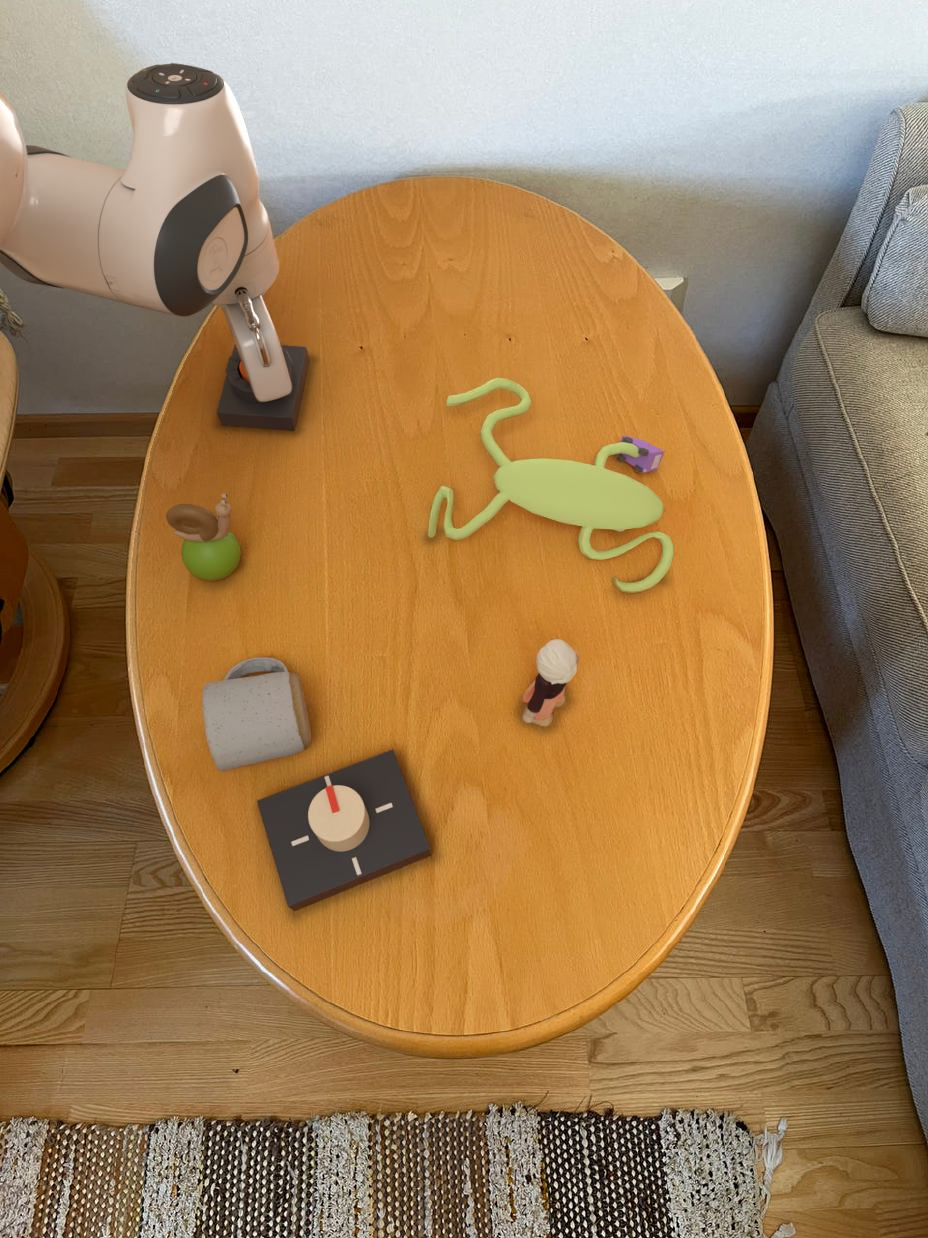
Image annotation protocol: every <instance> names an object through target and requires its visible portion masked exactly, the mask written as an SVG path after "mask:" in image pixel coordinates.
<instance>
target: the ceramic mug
mask: <svg viewBox="0 0 928 1238" xmlns="http://www.w3.org/2000/svg"><path fill="white" fill-rule="evenodd" d="M265 672H268V673H265ZM254 673H263V674H260V675H252V676H246V675H249V674H254ZM244 676H245V677H244ZM201 705H202V716H203V724H204V730H205V738H206V742H207V746H208V748H209V752H210V755H211V759H212V761H213V763H214V765H215V767H216V768H217V770H218V771H220V772H226V771H230V770H234V769H235V770H236V769H240V768H243V767H246V766H251V765H255V764H260V763H265V762H269V761H272V760H275V759H282V758H287V757H291V756H294V755H297V754H299V753H301V752H304V751H307V749H309V747H310V746H311V744H312V733H311V725H310V719H309V714H308V713H309V712H308V708H307V701H306V697H305V692H304V688H303V684H302V681H301V678H300V676H299V675H298V674H297V673H295V672H290V671H289V670H288V667H287V666H286V664H285V663H283V661H281V660H279V659H277V658H273V657H269V656H268V657H266V656H265V657H264V656H259V657H252V658H248V659H244V660H243V661H240V662H238V663H237V664H235V665H233V666H232V667H231V668H230V669H229V670H228V672H227V673H226V674H225V676H224V677H223V680H216V681H209V682H207V683H204V685H203V688H202V695H201Z"/></svg>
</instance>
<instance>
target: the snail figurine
mask: <svg viewBox="0 0 928 1238" xmlns="http://www.w3.org/2000/svg"><path fill="white" fill-rule="evenodd" d="M220 498H221V499H220V501H219V502H217V504H215V506H214V512H215V514H216V515H217V517H216V515H215V514H214V513H213V512H212V511H210V510H209V509H207V508H205V507H203V506H200V505H197V504H191V503H178V504H175V505H173V506H171V507H169V509H168V510H167V511H166V515H165V519H166V521H167V523H168V525H169V526H170V527H171V528H173V529H174V530H173V534H174V535H175V536H176V537H178V538H180V539H183V541H182V544H181V550H180V552H181V553H180V554H181V559H182V562H183V564H184V566H185V568H186V570H187V571H188V572H189V573H190V574H192V576H194V577H196V578H198V579H200V580H203V581H208V582H214V581H220V580H224V579H226V578H227V577H229V576H231V574H233V572H235V570H236V569H237V567H238V566H239V564H240V560H241V554H242V553H241V545H240V542H239V541H238V538H237V537H236V535H234V533H233V532H232V531H231V527H232V515H231V514H232V506H231V505H230V504H229V503H228V500H227V499H228V494H227V493H225V492H223V493H221V495H220Z"/></svg>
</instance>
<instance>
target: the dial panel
mask: <svg viewBox="0 0 928 1238" xmlns="http://www.w3.org/2000/svg"><path fill="white" fill-rule="evenodd" d="M331 785H332V786H335V785H342V786H346V787H349V788H351V789H353V790H354V791H356V792H357V793H358V794H359V796H360V797H361V799H362V800H363V803H364V805H365V808H366V810H367V813H368V816H369V830H368V833H367V835H366V837H365V839H364V840H363V841H362V842H361V843H360V844H359V845H358V846H357V847H355V848H353V849H351V850H348V851H342V852H339V851H334V850H331V849H329V848H327V847H325V846H324V845H323V844H322V843H321V841H320V840H319V839H318V837H317V836H316V834H315V833H314V832H313V830H312V829H311V827H310V824H309V820H308V811H309V807H310V804H311V802H312V800H313V799H314V797H315V796H316V795H317V794H318V793H319V792H320V791H322V790H323V789H325V787H328V786H331ZM256 803H257V806H258V810H259V815H260V816H261V820H262V823H263V826H264V831H265V835H266V837H267V841H268V843H269V848H270V851H271V854H272V858H273V860H274V861H273V862H274V864H275V868H276V871H277V874H278V877H279V881H280V885H281V888H282V891H283V895H284V898H285V901H286V905H287V907H288V908H289V909H291V910H292V911H293V912H297V911H298V910H302V909H303V908H306V907H309V906H311V905H314V904H316V903H318V902H321V901H324V900H326V899H328V898H330V897H333V896H336V895H338V894H341V893H343V892H347V891H349V890H351V889H354V888H356V887H358V886H361V885H363V884H366V883H368V882H370V881H373V880H375V879H378V878H380V877H383V876H385V875H387V874H389V873H392V872H395V871H398V870H400V869H403V868H404V867H407V866H409V865H412V864H414V863H417V862H419V861H423V860H425V859H427V858H429V857H431V856H432V849H431V846H430V843H429V840H428V838H427V835H426V832H425V830H424V826H423V825H422V822H421V819H420V816H419V814H418V811H417V808H416V806H415V803H414V801H413V798H412V796H411V793H410V790H409V787H408V785H407V782H406V780H405V777H404V774H403V771H402V768H401V766H400V764H399V761H398V759H397V756H396V754H395V751H394V749H390V750H387V751H384V752H382V753H380V754H377V755H373V756H372V757H369V758H365V759H364V760H360V761H357V762H356V763H353V764H351V765H348V766H344V767H342V768H340V769H337V770H334V771H332V772H330V773H327V774H324V775H321V776H319V777H316V778H314V779H311V780H308V781H305V782H303V783H299V784H298V785H295V786H293V787H291V788H287V789H284V790H282V791H279V792H277V793H275V794H274V793H273V794H272V795H268V796H265V797H264V798H261V799H259V800H257V801H256Z"/></svg>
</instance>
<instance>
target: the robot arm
mask: <svg viewBox="0 0 928 1238" xmlns="http://www.w3.org/2000/svg"><path fill="white" fill-rule="evenodd" d="M125 99H126V105H127V111H128V115H129V120H130V124H131V128H132V132H133V142H132V147H131V153H130V157H129V160H128V162H127V163H128V164H127V166H126V169H123V168H120V167H116V166H111V165H106V164H102V163H98V162H93V161H91V160H90V161H89V160H86V159H85V160H84V159H80V158H76V157H72V156H71V155H68V154H64V153H62V152H59V151H55V150H52V149H48V148H45V147H42V146H38V145H31V144H26V141H25V137H24V133H23V130H22V126H21V125H20V121H19V119H18V116H17V113H16V111H15V109H14V107H13V105H12V103H11V101H10V100H9V98H8V97H7V95H6V94H5V93H4V92H3V91H2V89H1V88H0V264H2V266H4V267H5V268H6V269H7V270H8V271H9V272H11V274H13V275H15V276H16V277H18V279H21V280H22V281H25V282H27V283H30V284H35V285H39V286H40V285H41V286H47V287H51V288H59V289H67V290H70V291H75V292H77V293H82V294H86V295H90V296H95V297H98V298H102V299H106V300H110V301H114V302H118V303H122V304H125V305H131V306H134V307H139V308H142V309H146V310H150V311H155V312H159V313H163V314H168V315H174V316H178V317H190V316H193V315H195V314H197V313H199V312H201V311H202V310H204V309H205V308H207V307H208V306H209V305H210V304H212V305H213V306H216V307H219V308H221V309H222V313H223V315H224V318H225V321H226V324H227V326H228V328H229V331H230V334H231V337H232V339H233V342H234V345H236V347H237V350H238V353H239V355H240V358H241V361H242V363H243V366H244V369H245V372H246V374H247V377H248V380H249V382H250V385H251V388H252V390H253V393H254V395H255V397H256V399H257V400H258V401H259V402H267V401H271V400H275V399H278V398H281V397H284V396H286V395H288V394H290V393H291V391H292V384H291V380H290V376H289V372H288V369H287V365H286V361H285V358H284V355H283V351H282V348H281V345H282V344H281V341H280V338H279V335H278V332H277V330H276V326H275V324H274V322H273V320H272V317H271V314H270V312H269V309H268V307H267V305H266V302H265V300H264V296H265V294H267V292H268V291H269V289H270V288H271V287H272V286H273V284H274V283H275V281H276V279H277V277H278V276H279V271H280V261H279V257H278V251H277V248H276V244H275V240H274V235H273V230H272V226H271V222H270V217H269V215H268V212H267V210H266V208H265V206H264V204H263V202H262V200H261V198H260V195H259V187H260V177H259V171H258V166H257V162H256V158H255V154H254V150H253V146H252V143H251V138H250V136H249V135H250V134H249V132H248V129H247V125H246V123H245V120H244V117H243V114H242V112H241V108H240V107H239V104H238V101H237V99H236V97H235V95H234V93H233V91H232V90H231V87H230V86H229V85H228V83H227V82H226V81H225V79H224V78H223V77H222V76H220V75H219V74H217V73H215V72H214V71H212V70H209V69H206V68H202V67H198V66H195V65H190V64H184V63H175V62H170V63H164V64H153V65H150V66H147V67H145V68H142V69H141V70H139V71H138V72H136V73H134V74H133V75H131V76H130V77H129V78H128V80H127V82H126V85H125Z"/></svg>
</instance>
